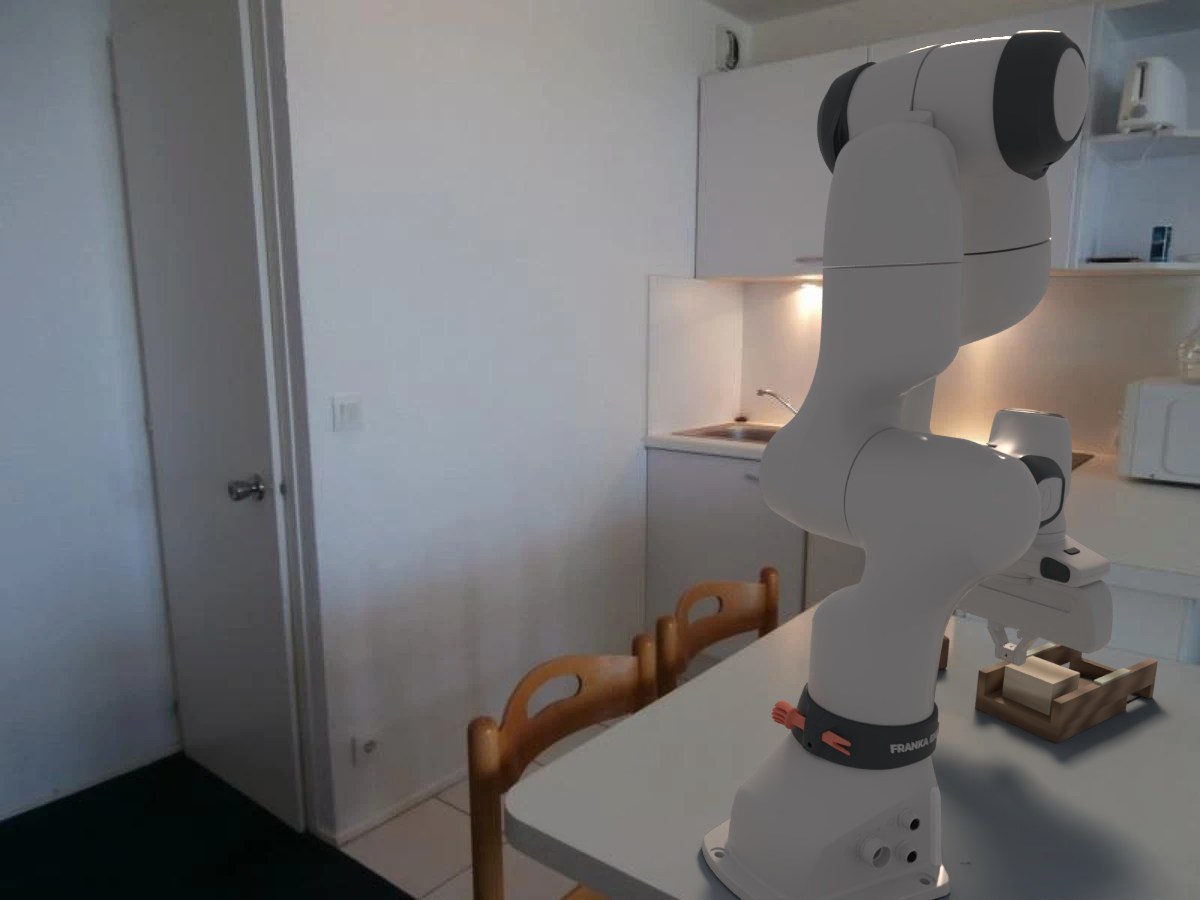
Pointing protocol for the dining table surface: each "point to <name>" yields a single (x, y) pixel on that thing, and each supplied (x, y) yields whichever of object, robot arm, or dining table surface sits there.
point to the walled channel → (1077, 710)
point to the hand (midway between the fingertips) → (1009, 660)
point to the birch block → (1038, 683)
